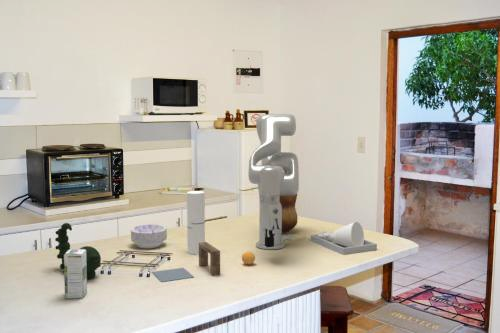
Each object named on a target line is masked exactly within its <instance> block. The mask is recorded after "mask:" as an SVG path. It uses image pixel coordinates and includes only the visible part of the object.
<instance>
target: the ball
mask: <svg viewBox="0 0 500 333" xmlns="http://www.w3.org/2000/svg"><path fill="white" fill-rule="evenodd" d="M241 260H242V262H243V263H244V264H245V265H248V266H249V265H252V264H253V263H254V262H255V260H256V256H255V253H254V252H252V251H248V250H247V251H245V252H243V254H242V256H241Z"/></svg>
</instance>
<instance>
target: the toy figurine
mask: <svg viewBox="0 0 500 333" xmlns="http://www.w3.org/2000/svg"><path fill="white" fill-rule="evenodd" d="M72 227H73V226H72V225H71V223H69V222H64V223H63V224H62V225H61V227H60V228H58V230H56V231H55V234H56V235H57V237H56V238H55V239H54V240H55V242H57V243H58V245H55V250H59V252H58V254H57V255H56V258H57V259H61V263H60V265H59V268H60V269H61V270H64V254H65V253H66V252H67V251H68V250H70V249H71V243H70V242H69V236H68V231H67V230H69V231H72V230H73V228H72ZM79 249H84V250H86V263H87V280H89V279H93V278H94V277H96V274H97V272H96V270H98V269H99V268H100V267H101V266H102V265H101V261H102V257H101V254H100V252H99V251H98V250H97V249H96V248H95V247H93V246H82V247H79Z"/></svg>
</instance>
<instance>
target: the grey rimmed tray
mask: <svg viewBox="0 0 500 333" xmlns="http://www.w3.org/2000/svg"><path fill="white" fill-rule="evenodd" d="M330 233H331V234H332V233H333V232H330ZM321 234H322V233H318V234H311V235H310V240H309V241H310V242H313V243H314V244H317V245H320V246H322V247H324V248H327V249H330V250H332V251H333V252H336V253H339V254H340V255H342V256H343V255H350V254H356V253H363V252H371V251H377V250H378V243H375V242H372V241H369V240H367V239H364V244H363V245H361V246H353V247H346V246H345V247H343V246H342V245H338V244H336V243H334V242H328V241H326V240H324V237H318V235H321ZM328 234H329V232H328Z"/></svg>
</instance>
